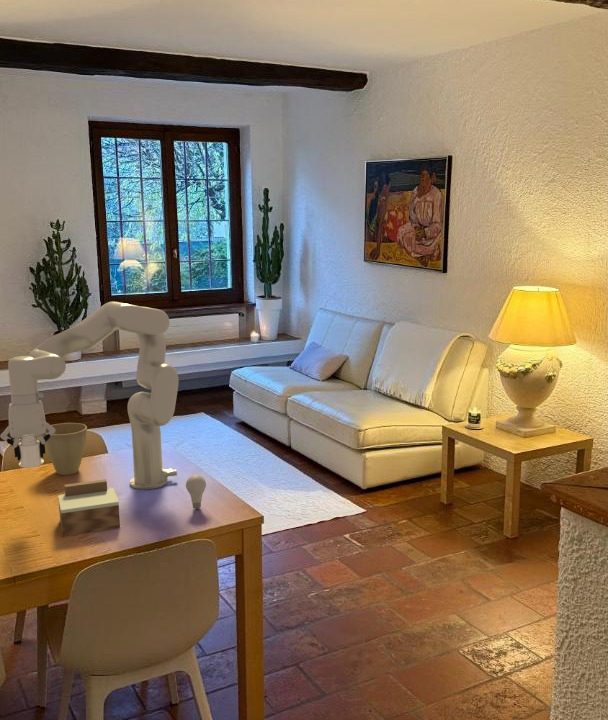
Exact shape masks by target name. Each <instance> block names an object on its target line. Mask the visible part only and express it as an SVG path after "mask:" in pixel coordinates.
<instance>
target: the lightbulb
mask: <svg viewBox="0 0 608 720" xmlns="http://www.w3.org/2000/svg"><path fill="white" fill-rule="evenodd" d="M185 482H186V483H185V488H186V490H187V492H188V493H189V496H190V499H191V502H192V508H193V509H194V510H199V509H200V508H201V506H202V501H203V495H204V493H205V489H206V487H207V483H206V480H205V478H204V477H203V476H201V475H199V474H193V475H191V476H189V477H188V479H187V480H186V481H185Z"/></svg>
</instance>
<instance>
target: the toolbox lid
mask: <svg viewBox="0 0 608 720" xmlns="http://www.w3.org/2000/svg"><path fill="white" fill-rule="evenodd" d="M57 496H58V497H57V498H58V505H59V504H60V510H61V513H68V512H75V511H81V510H88V509H95V508H102V507H109V506H116V505H119V506H120V503H119V499H118V496H117V494H116V492H115V489H114V487H109V488H108V481H107V479H105V478H104V479H97V480H91V481H89V480H88V481H81V482H76V483H74V482H73V483H67V484H64V494H58V495H57Z"/></svg>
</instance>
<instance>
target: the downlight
mask: <svg viewBox="0 0 608 720" xmlns="http://www.w3.org/2000/svg"><path fill="white" fill-rule="evenodd" d="M30 435H33V436H30ZM23 436H26V437H22V438H20V439H19V441H20V442H18V445H19V451H20V460H19V461H20V462H19V463H18V466H19V467H20V468H24V469H27V468H35V467H39V466H42V465H43V464H44V461H45V460H44V459H43V458H42V457H41V454H40V440H38V436H34V434H27V435H23Z"/></svg>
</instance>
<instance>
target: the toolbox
mask: <svg viewBox="0 0 608 720" xmlns="http://www.w3.org/2000/svg"><path fill="white" fill-rule="evenodd" d="M58 510H59V522H60V528H61V535H62V538H64V537H71V536H77V535H83V534H89V533H96V532H103V531H108V530H109V531H110V530H115V529H120V528H121V519H120V504H119V505H116V506H109V507H102V508H95V509H88V510H81V511H75V512H68V513H61V510H60V504H59V503H58Z"/></svg>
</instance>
